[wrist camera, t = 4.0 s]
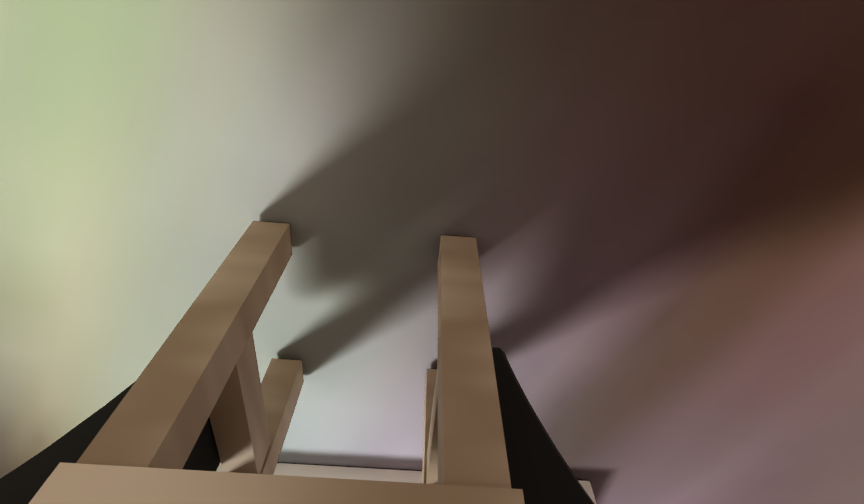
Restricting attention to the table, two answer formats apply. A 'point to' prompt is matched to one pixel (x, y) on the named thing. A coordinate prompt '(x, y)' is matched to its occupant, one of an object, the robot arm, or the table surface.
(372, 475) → the board
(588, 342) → the table surface
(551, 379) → the table surface
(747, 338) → the table surface
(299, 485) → the stool
